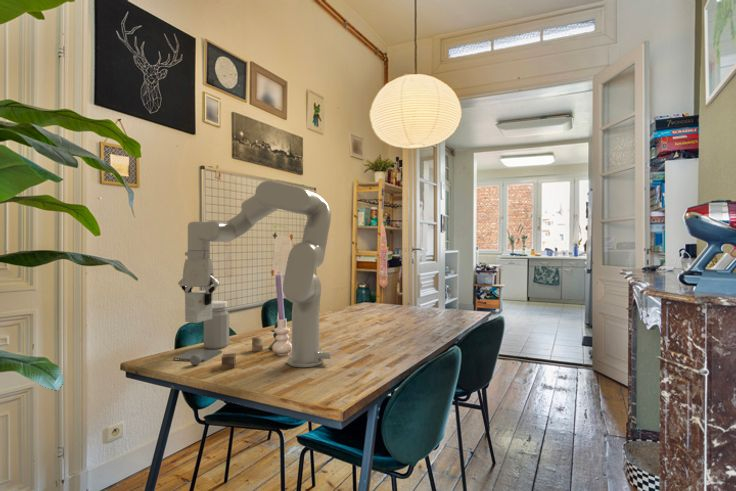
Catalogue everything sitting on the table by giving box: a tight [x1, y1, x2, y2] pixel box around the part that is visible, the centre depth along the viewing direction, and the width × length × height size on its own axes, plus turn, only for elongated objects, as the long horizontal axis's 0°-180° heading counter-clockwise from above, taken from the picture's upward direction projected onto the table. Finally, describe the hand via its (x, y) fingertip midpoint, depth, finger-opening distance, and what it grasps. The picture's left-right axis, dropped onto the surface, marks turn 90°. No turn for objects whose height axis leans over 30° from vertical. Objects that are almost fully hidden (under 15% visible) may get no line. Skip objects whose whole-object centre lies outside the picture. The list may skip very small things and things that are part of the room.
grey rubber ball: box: [189, 354, 201, 366], centre depth 139 cm, size 4×4×4 cm
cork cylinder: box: [251, 336, 264, 353], centre depth 158 cm, size 4×4×5 cm
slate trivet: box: [172, 348, 223, 362], centre depth 150 cm, size 12×12×1 cm
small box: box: [184, 290, 213, 324], centre depth 150 cm, size 8×6×10 cm
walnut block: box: [221, 353, 237, 370], centre depth 138 cm, size 4×4×4 cm
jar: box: [203, 299, 230, 350], centre depth 164 cm, size 10×10×18 cm
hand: (198, 303), depth 150 cm, fingers closed on small box, 6 cm apart
